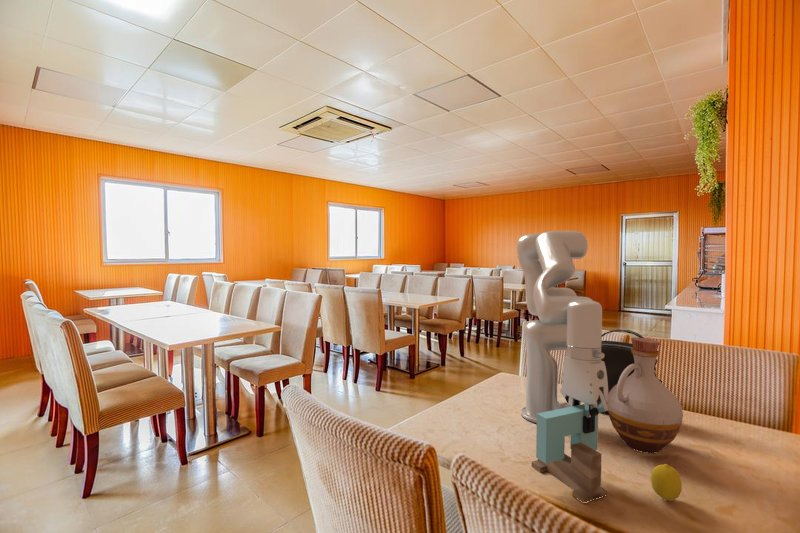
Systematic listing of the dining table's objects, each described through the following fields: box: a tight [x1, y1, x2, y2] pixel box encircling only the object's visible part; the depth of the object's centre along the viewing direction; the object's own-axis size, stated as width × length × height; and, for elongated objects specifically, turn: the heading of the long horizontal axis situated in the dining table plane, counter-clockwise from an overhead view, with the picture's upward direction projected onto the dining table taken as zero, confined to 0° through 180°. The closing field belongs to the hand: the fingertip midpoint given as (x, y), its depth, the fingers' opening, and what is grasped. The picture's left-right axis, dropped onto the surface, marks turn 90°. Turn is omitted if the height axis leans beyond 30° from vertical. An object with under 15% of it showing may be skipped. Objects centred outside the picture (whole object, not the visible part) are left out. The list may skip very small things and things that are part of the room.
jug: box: [607, 337, 684, 454], centre depth 108 cm, size 20×18×30 cm
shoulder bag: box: [597, 328, 663, 415], centre depth 131 cm, size 23×9×28 cm, turn 54°
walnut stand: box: [531, 443, 608, 502], centre depth 93 cm, size 7×16×10 cm, turn 23°
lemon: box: [650, 463, 683, 501], centre depth 86 cm, size 6×6×8 cm
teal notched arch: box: [535, 403, 599, 464], centre depth 92 cm, size 16×3×10 cm, turn 113°
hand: (582, 428), depth 94 cm, fingers closed on teal notched arch, 3 cm apart
